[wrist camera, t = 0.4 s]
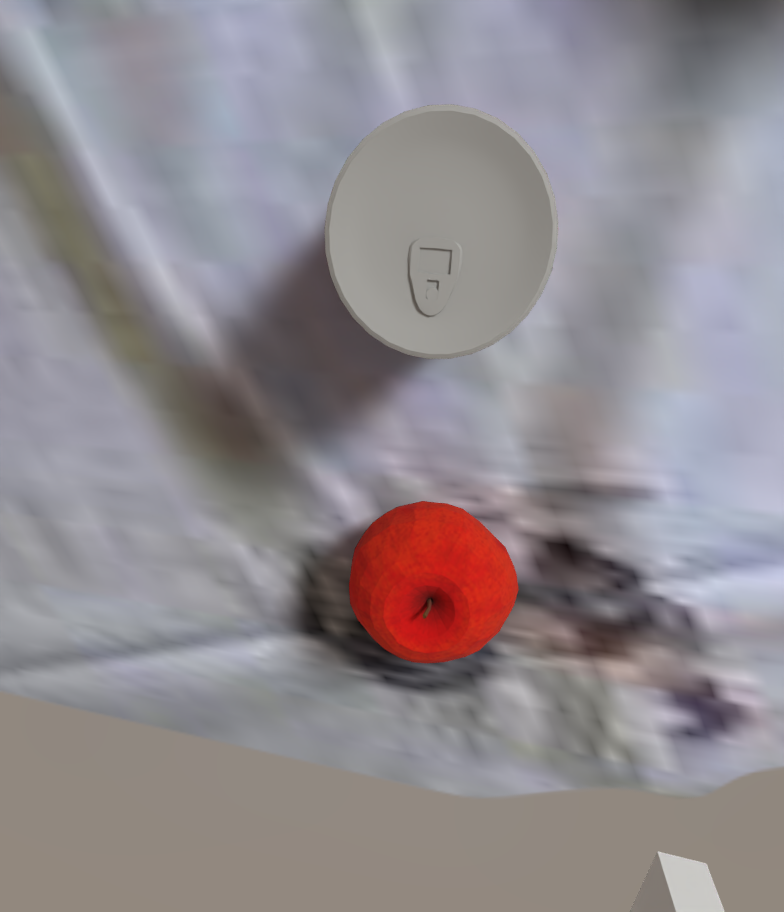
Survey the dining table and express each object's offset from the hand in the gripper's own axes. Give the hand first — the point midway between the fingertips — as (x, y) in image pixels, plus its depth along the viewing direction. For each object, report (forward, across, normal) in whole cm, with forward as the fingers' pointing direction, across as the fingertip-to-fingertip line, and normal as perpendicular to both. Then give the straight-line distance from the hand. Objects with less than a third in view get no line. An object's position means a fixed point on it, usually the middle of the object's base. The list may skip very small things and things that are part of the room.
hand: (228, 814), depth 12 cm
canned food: (+27, +1, +8) cm, 28 cm away
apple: (+27, +4, -7) cm, 28 cm away
